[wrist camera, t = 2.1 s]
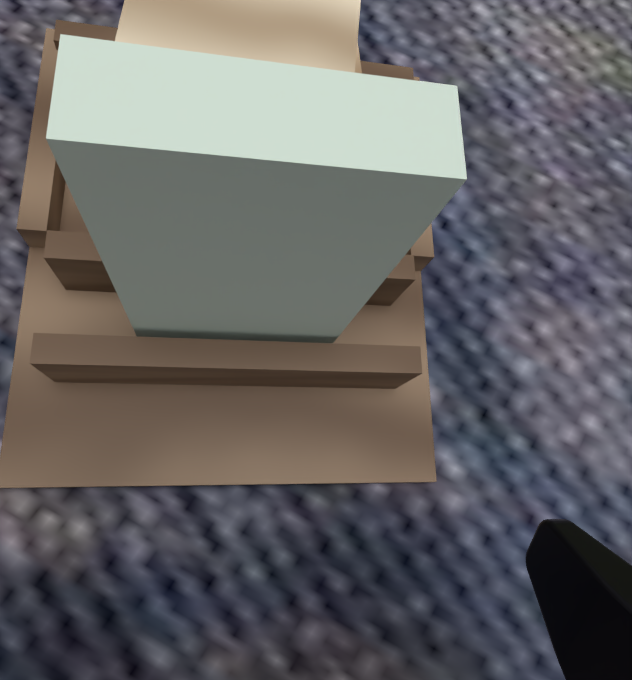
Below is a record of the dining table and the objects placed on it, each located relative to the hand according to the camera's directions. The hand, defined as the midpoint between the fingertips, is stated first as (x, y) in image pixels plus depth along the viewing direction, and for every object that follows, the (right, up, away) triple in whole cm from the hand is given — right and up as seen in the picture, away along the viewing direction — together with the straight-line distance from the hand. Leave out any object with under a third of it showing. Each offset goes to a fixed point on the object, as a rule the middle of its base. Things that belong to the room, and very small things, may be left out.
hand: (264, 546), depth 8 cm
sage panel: (-2, +4, +13) cm, 14 cm away
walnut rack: (-3, +6, +15) cm, 16 cm away
